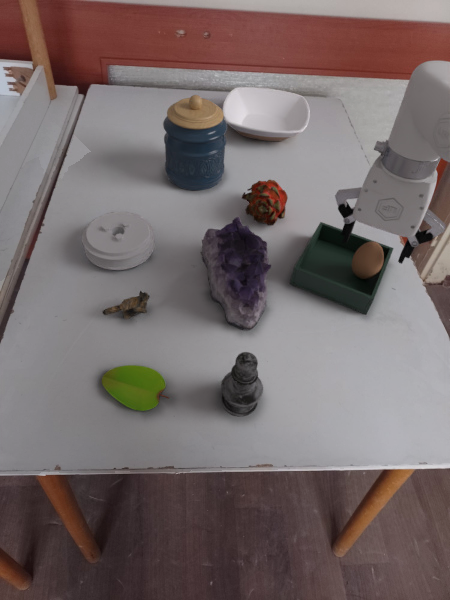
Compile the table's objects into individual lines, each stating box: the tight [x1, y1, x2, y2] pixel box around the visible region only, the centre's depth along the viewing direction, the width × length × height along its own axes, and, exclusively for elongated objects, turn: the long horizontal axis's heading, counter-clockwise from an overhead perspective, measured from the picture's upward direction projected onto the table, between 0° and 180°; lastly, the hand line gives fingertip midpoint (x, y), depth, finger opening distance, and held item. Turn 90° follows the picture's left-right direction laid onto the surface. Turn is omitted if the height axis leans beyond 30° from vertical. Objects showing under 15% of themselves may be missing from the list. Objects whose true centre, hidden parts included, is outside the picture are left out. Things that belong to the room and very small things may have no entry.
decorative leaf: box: [101, 364, 170, 412], centre depth 65 cm, size 8×9×1 cm
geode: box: [200, 216, 272, 331], centre depth 76 cm, size 20×12×10 cm, turn 12°
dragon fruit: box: [241, 179, 288, 227], centre depth 90 cm, size 8×8×12 cm
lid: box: [81, 211, 155, 271], centre depth 82 cm, size 13×13×5 cm
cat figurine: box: [101, 290, 151, 320], centre depth 73 cm, size 3×8×4 cm, turn 105°
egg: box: [352, 241, 384, 279], centre depth 79 cm, size 5×5×8 cm
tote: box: [289, 221, 394, 315], centre depth 81 cm, size 14×14×4 cm
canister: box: [162, 94, 228, 191], centre depth 93 cm, size 13×13×18 cm
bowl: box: [221, 86, 311, 142], centre depth 113 cm, size 22×22×5 cm
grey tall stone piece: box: [220, 351, 264, 417], centre depth 60 cm, size 6×6×12 cm
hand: (373, 248), depth 76 cm, fingers open, 9 cm apart
